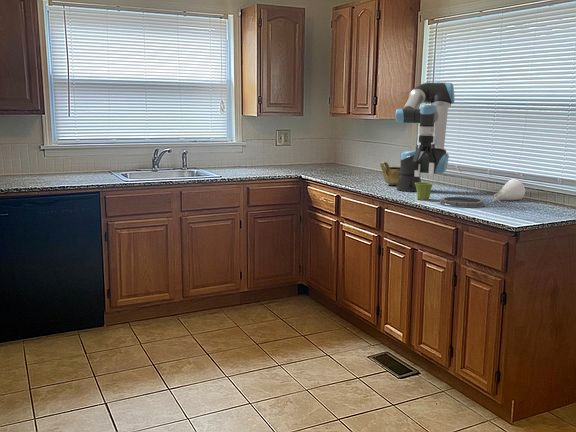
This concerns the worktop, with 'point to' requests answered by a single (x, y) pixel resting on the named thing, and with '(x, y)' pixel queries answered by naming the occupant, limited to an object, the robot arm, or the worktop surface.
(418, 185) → the plant pot
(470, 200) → the saucer
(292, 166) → the worktop surface
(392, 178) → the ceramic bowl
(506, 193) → the white teardrop lump
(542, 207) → the worktop surface
